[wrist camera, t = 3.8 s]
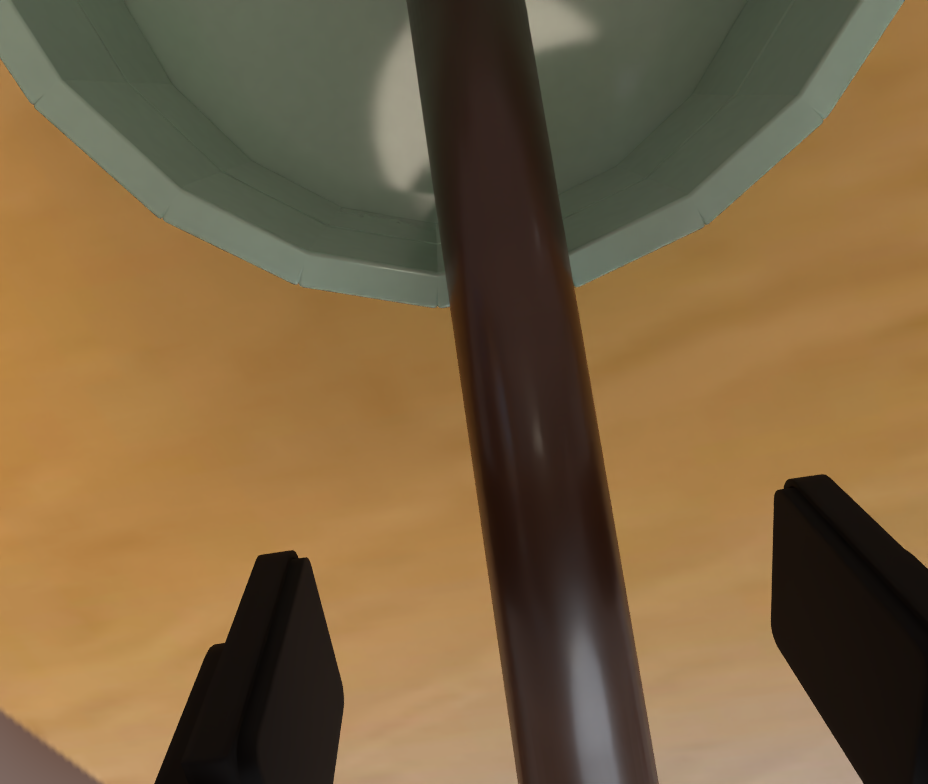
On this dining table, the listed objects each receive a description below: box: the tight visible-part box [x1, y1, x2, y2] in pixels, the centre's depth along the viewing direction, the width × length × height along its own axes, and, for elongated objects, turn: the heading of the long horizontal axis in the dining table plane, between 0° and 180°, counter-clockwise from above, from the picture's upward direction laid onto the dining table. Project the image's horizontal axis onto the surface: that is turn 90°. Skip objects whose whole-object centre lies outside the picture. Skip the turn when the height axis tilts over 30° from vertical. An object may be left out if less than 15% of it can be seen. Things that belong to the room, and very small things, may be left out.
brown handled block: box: [406, 0, 659, 784], centre depth 10 cm, size 21×4×11 cm, turn 8°
